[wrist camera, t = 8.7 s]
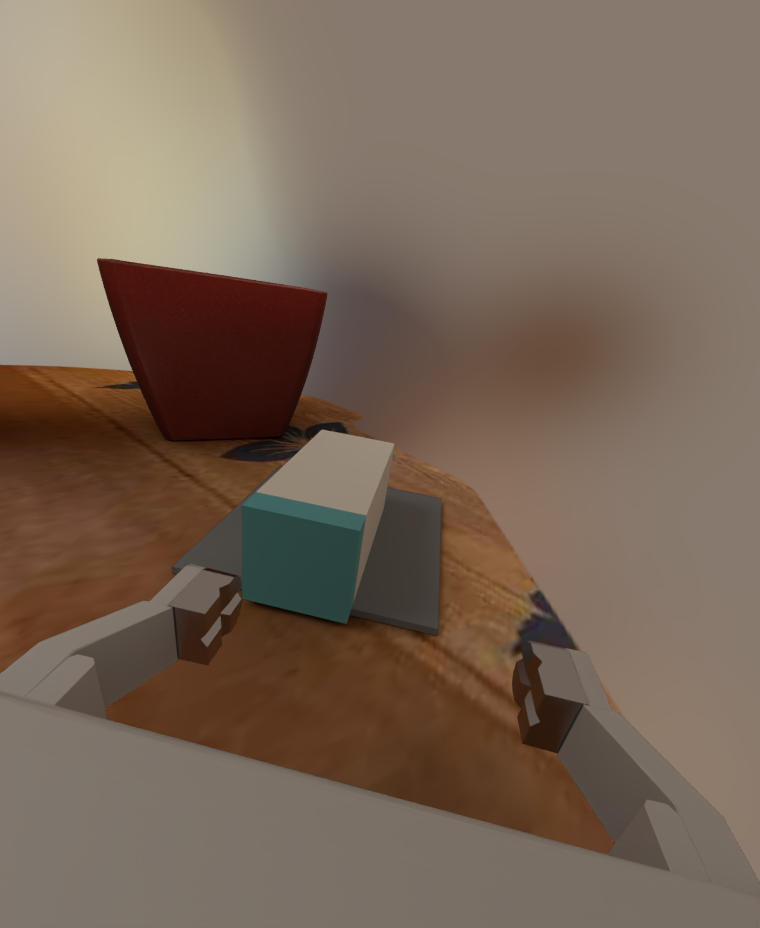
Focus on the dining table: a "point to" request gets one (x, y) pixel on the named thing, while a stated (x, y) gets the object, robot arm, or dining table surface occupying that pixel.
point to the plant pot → (214, 347)
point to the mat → (387, 568)
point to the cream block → (315, 526)
